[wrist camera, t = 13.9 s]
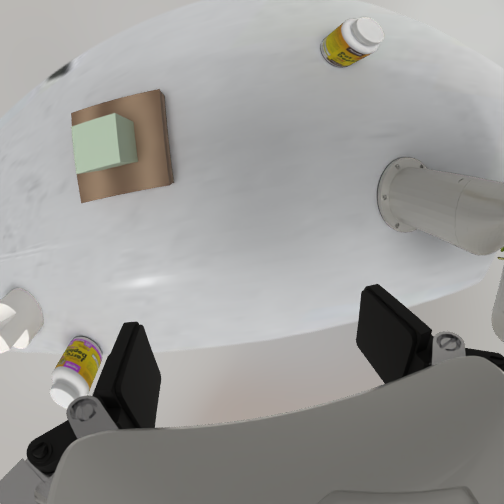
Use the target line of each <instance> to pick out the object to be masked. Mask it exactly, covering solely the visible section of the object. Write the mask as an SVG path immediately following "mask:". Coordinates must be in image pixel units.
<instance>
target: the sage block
mask: <svg viewBox="0 0 504 504" xmlns="http://www.w3.org/2000/svg"><path fill="white" fill-rule="evenodd" d="M71 129H72V140H73V150H74V159H75V166H76V173H77V174H81V173H87V172H94V171H101V170H105V169H109V168H113V167H117V166H121V165H125V164H130V163H134V162H138V158H137V150H136V142H135V133H134V123H133V121H131V120H129V119H127V118H125V117H122V116H120V115H118V114H116V113H113V114H110V115H106V116H103V117H100V118H96V119H93V120H90V121H87V122H84V123H81V124H78V125H75V126H72V127H71Z"/></svg>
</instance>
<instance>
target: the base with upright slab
mask: <svg viewBox="0 0 504 504" xmlns="http://www.w3.org/2000/svg"><path fill="white" fill-rule="evenodd" d="M43 321H44V319H43V313H42V310H41V308H40V305H39V303H38V302H37V301H36V299H35V298H34V297H33V296H32V295H31V294H30V293H29V292H27V291H26V290H24V289H21V288H15V289H13V290H12V291H10V292H9V293H8V294H7V295H6V296H5V297H4V298H2V299H1V300H0V353H3V352H5V351H8V350H10V349H11V348H12V346H13V347H15V348H18V349H24V348H26V347H27V346H28V344H29V343H30V342H31V340H32V339H33V338H34V336H35V335H36V334H37V333H38V331H39V330H40V329H41V327H42V325H43Z"/></svg>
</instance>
